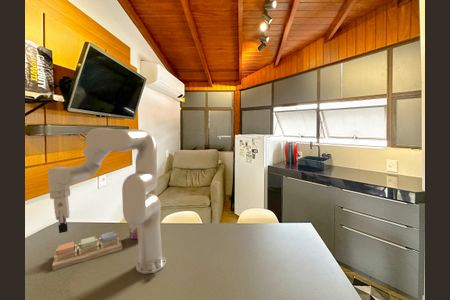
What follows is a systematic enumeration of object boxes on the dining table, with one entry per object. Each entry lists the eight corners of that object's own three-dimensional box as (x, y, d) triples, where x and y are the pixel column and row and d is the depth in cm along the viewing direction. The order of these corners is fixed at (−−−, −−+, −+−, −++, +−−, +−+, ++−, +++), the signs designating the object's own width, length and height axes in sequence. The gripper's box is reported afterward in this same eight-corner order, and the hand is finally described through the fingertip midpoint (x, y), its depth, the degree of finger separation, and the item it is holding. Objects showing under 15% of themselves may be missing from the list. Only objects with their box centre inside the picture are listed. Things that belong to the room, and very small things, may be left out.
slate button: (116, 240, 114) (115, 235, 114) (103, 244, 111) (102, 238, 111) (114, 236, 119) (114, 231, 119) (101, 240, 116) (101, 234, 115)
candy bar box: (129, 239, 122) (127, 210, 121) (134, 235, 127) (132, 207, 126) (149, 240, 121) (147, 210, 120) (152, 235, 126) (151, 207, 125)
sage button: (96, 246, 109) (95, 240, 109) (81, 250, 106) (81, 244, 106) (95, 241, 114) (94, 236, 114) (81, 245, 111) (80, 239, 110)
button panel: (122, 249, 112) (121, 240, 112) (52, 270, 97) (51, 260, 96) (117, 238, 124) (117, 231, 123) (55, 256, 108) (54, 247, 108)
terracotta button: (74, 252, 104) (73, 246, 104) (58, 257, 101) (57, 250, 100) (74, 247, 109) (73, 241, 109) (59, 251, 106) (58, 245, 105)
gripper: (69, 195, 98) (73, 235, 100) (70, 188, 111) (73, 224, 112) (48, 199, 94) (52, 240, 96) (51, 191, 107) (54, 228, 108)
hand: (63, 231), depth 104 cm, fingers closed
